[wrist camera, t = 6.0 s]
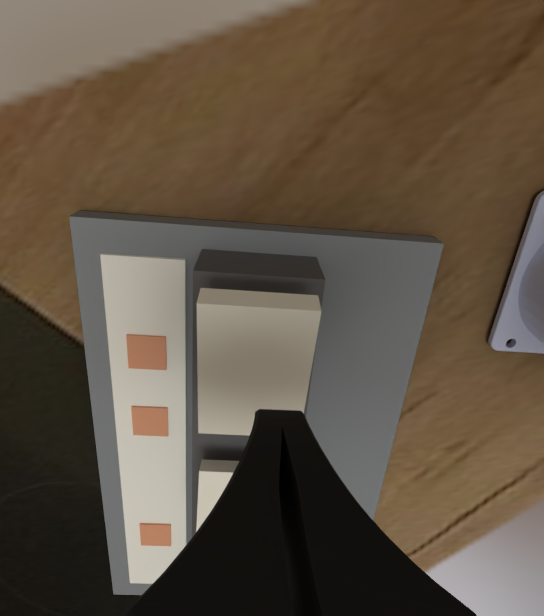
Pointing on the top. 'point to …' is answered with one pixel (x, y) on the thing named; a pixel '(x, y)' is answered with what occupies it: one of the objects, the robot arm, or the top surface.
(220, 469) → the switch middle
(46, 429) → the top surface
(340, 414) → the switch panel
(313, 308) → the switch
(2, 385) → the top surface
